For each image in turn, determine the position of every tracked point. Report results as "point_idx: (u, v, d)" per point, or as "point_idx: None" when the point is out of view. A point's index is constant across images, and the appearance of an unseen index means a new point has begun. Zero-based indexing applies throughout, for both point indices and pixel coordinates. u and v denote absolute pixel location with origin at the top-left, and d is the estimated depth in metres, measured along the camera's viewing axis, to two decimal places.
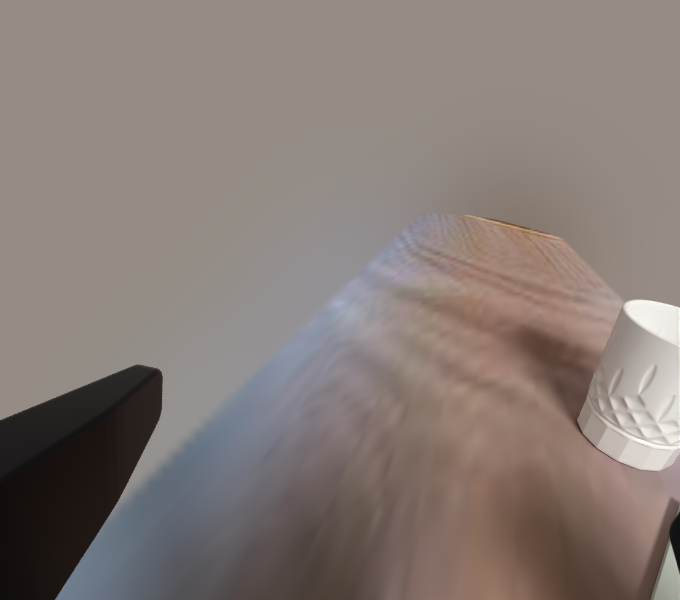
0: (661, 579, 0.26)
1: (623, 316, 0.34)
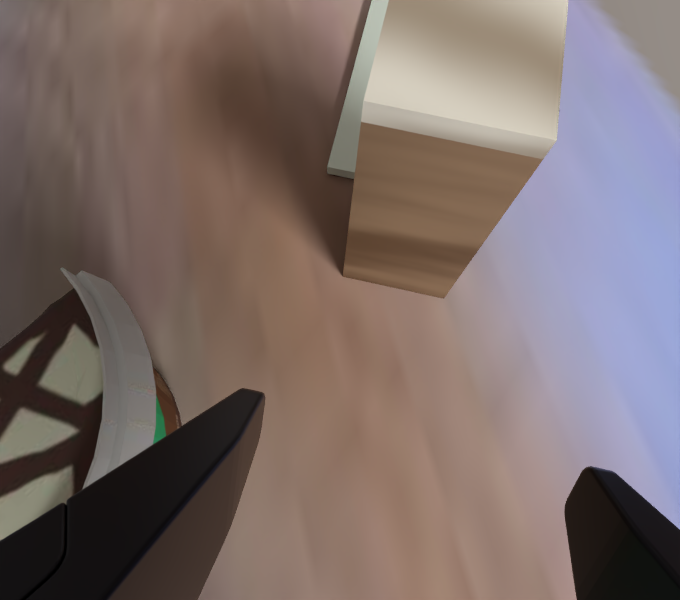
0: (352, 76, 0.27)
1: None
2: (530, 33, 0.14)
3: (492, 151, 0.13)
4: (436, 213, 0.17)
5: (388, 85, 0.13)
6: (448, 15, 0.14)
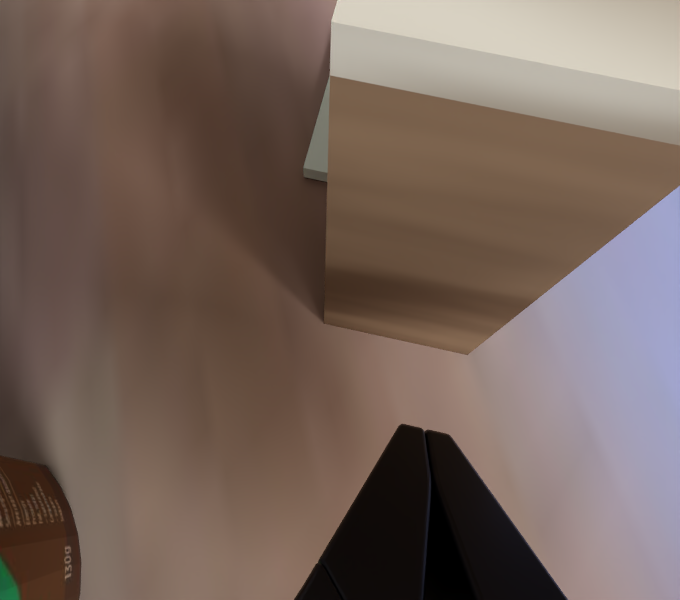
0: None
1: None
2: None
3: (607, 137, 0.06)
4: (471, 249, 0.10)
5: None
6: None
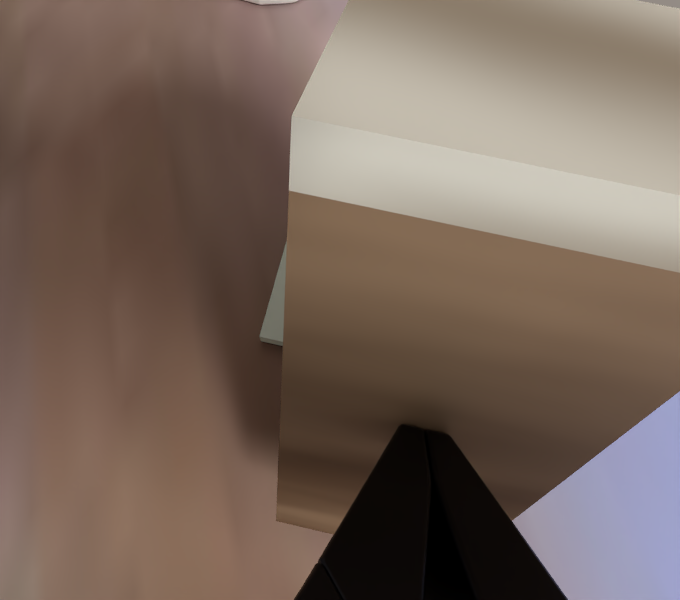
0: None
1: None
2: (664, 45, 0.06)
3: (652, 275, 0.05)
4: (466, 426, 0.08)
5: (364, 92, 0.05)
6: (486, 8, 0.06)
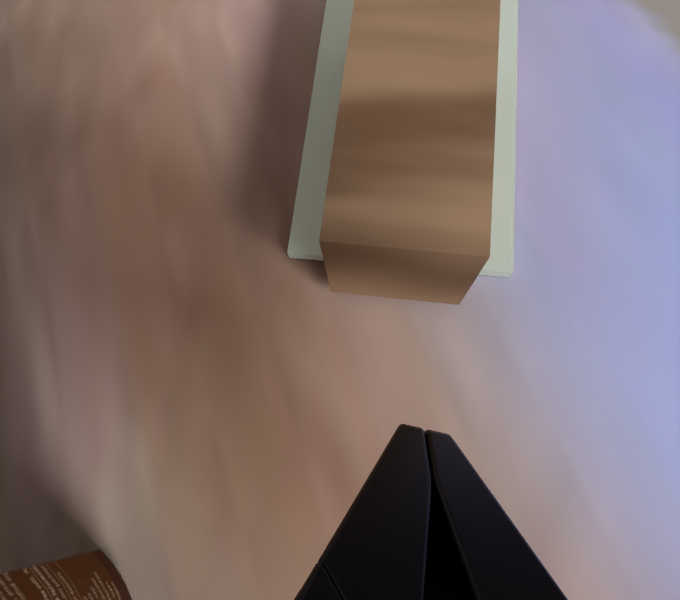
0: (308, 126, 0.22)
1: None
2: None
3: None
4: (436, 45, 0.16)
5: None
6: None
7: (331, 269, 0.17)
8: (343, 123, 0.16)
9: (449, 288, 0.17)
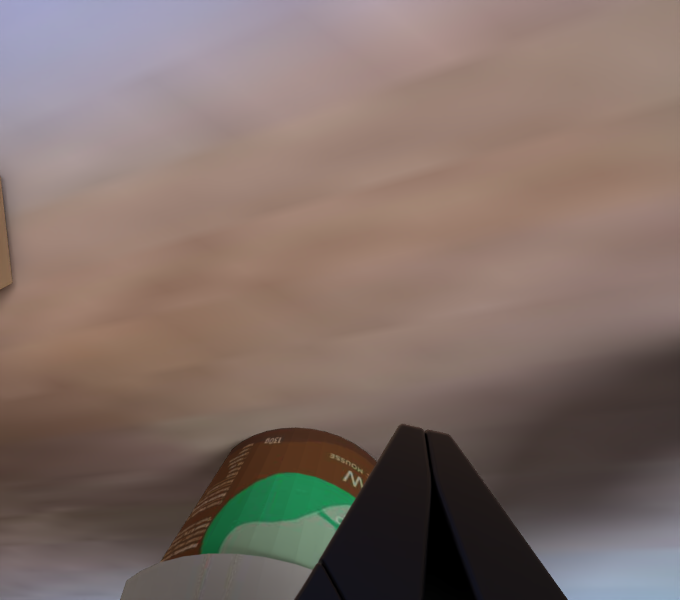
0: None
1: None
2: None
3: None
4: None
5: None
6: None
7: None
8: None
9: None
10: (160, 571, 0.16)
